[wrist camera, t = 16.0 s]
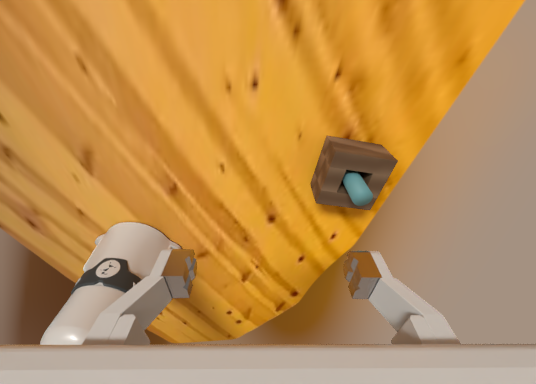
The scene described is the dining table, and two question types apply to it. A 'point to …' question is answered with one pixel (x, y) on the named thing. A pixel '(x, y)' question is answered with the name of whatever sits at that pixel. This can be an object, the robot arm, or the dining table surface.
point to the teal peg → (357, 188)
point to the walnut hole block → (350, 158)
